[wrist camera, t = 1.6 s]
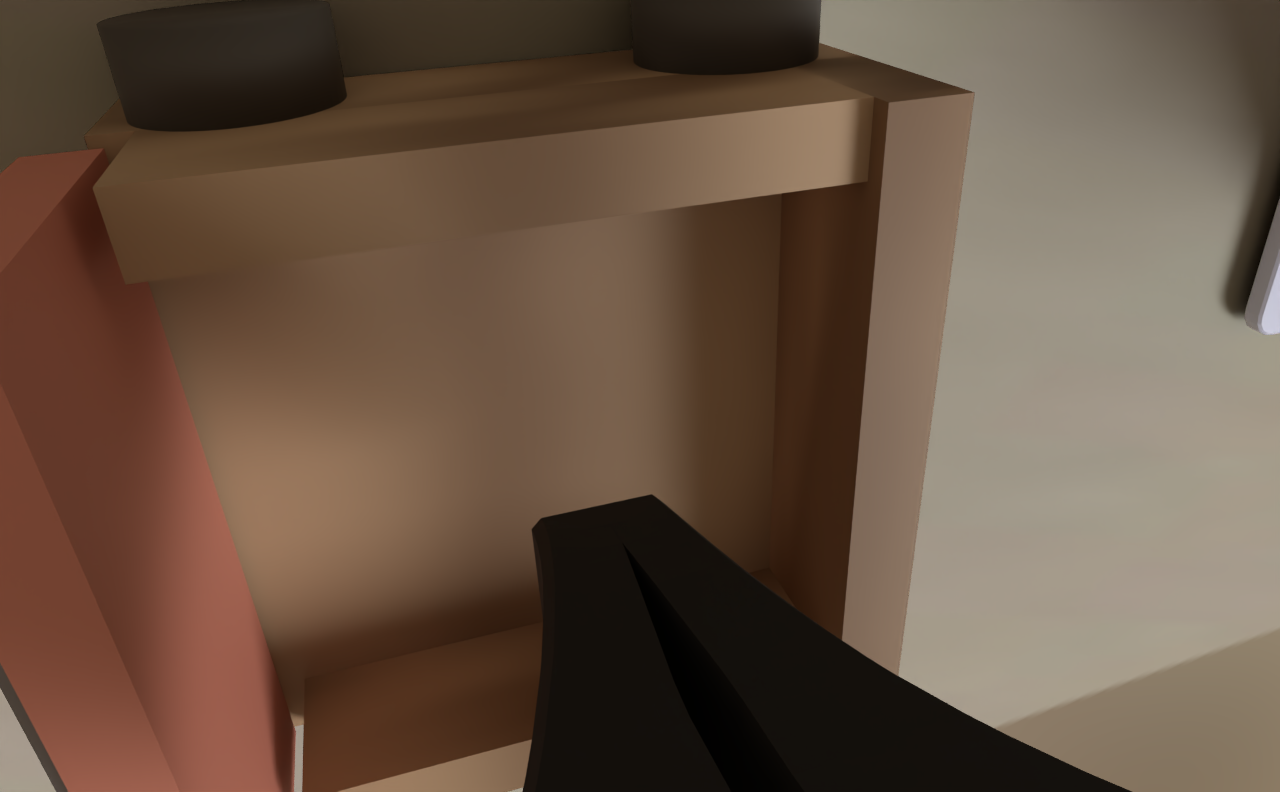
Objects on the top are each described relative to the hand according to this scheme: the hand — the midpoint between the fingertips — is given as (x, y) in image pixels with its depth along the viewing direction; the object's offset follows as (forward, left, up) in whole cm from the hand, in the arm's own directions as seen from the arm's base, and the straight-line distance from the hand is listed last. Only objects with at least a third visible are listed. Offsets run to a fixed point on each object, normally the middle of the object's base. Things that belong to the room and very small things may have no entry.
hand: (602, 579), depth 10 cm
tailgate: (+5, 0, -3) cm, 6 cm away
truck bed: (0, 0, -6) cm, 6 cm away
